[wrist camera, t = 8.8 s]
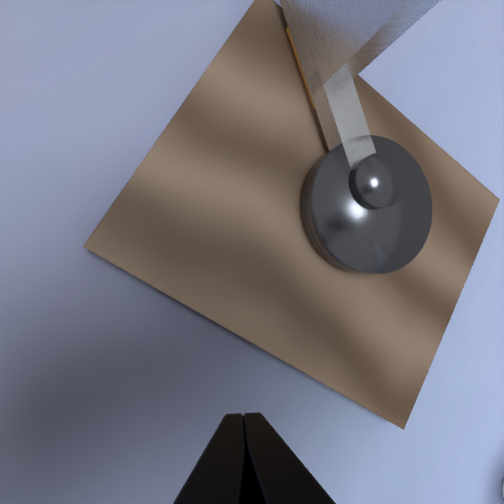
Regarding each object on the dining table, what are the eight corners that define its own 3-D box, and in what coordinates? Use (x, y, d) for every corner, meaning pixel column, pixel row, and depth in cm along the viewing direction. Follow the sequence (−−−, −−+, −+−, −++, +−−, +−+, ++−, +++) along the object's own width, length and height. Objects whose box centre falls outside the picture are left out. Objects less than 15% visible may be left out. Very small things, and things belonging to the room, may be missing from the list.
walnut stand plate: (387, 420, 24) (403, 429, 22) (87, 248, 18) (82, 246, 17) (481, 203, 27) (499, 199, 26) (253, 8, 22) (261, -10, 21)
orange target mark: (329, 104, 22) (332, 102, 21) (313, 109, 21) (315, 106, 21) (302, 26, 21) (305, 23, 21) (286, 29, 21) (288, 25, 21)
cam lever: (427, 248, 23) (677, 229, 12) (327, 293, 20) (533, 317, 10) (341, -25, 22) (533, -303, 11) (224, -13, 19) (330, -355, 9)
